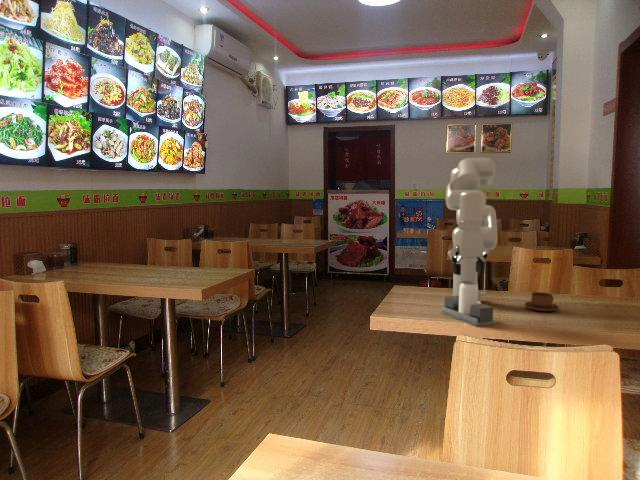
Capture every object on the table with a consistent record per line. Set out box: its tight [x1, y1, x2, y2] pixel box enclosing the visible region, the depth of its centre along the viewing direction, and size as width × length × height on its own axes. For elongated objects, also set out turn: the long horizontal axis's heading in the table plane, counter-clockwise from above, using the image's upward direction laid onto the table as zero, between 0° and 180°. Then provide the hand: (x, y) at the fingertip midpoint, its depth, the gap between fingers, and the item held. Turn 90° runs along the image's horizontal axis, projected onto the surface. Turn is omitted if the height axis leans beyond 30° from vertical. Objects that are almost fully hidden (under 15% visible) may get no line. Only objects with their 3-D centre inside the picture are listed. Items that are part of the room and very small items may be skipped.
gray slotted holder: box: [440, 295, 496, 328], centre depth 181 cm, size 8×20×6 cm, turn 22°
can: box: [459, 281, 479, 316], centre depth 181 cm, size 6×6×12 cm
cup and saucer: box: [524, 291, 559, 312], centre depth 195 cm, size 12×12×6 cm
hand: (468, 273), depth 180 cm, fingers open, 9 cm apart
